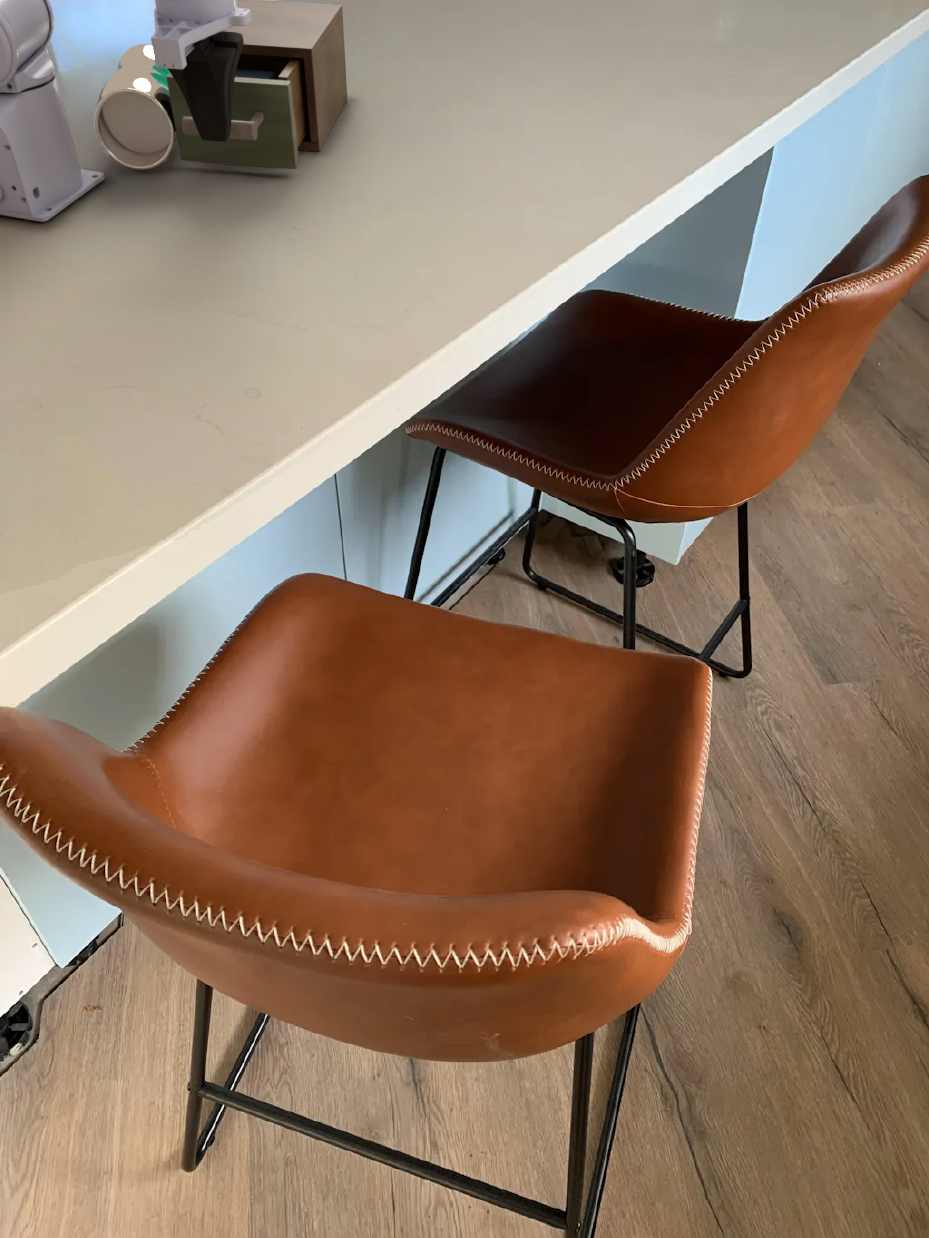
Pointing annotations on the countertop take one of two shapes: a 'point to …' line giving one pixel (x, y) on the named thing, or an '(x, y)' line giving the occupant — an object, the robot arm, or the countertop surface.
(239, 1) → the cabinet
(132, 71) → the beige cup
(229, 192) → the countertop surface
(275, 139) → the drawer
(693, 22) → the countertop surface
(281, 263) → the countertop surface
